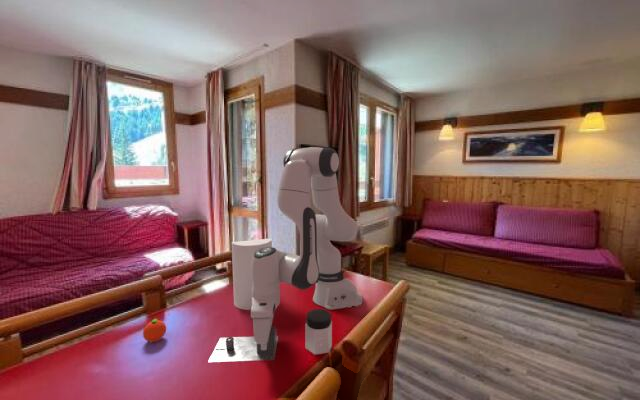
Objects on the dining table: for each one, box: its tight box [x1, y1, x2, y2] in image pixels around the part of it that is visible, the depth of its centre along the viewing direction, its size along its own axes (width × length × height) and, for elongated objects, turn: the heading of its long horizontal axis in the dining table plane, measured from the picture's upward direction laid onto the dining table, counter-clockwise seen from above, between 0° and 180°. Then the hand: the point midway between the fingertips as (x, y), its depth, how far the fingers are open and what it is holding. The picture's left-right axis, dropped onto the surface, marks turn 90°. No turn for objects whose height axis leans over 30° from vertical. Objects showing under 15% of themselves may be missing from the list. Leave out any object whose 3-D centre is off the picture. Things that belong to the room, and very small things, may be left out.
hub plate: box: [207, 335, 279, 363], centre depth 89 cm, size 20×12×4 cm, turn 93°
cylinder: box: [231, 237, 273, 311], centre depth 122 cm, size 17×17×28 cm
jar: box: [304, 308, 333, 356], centre depth 90 cm, size 9×8×12 cm
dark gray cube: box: [257, 326, 278, 354], centre depth 89 cm, size 6×6×6 cm
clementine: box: [142, 318, 167, 343], centre depth 95 cm, size 8×7×7 cm
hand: (266, 339), depth 89 cm, fingers open, 8 cm apart
